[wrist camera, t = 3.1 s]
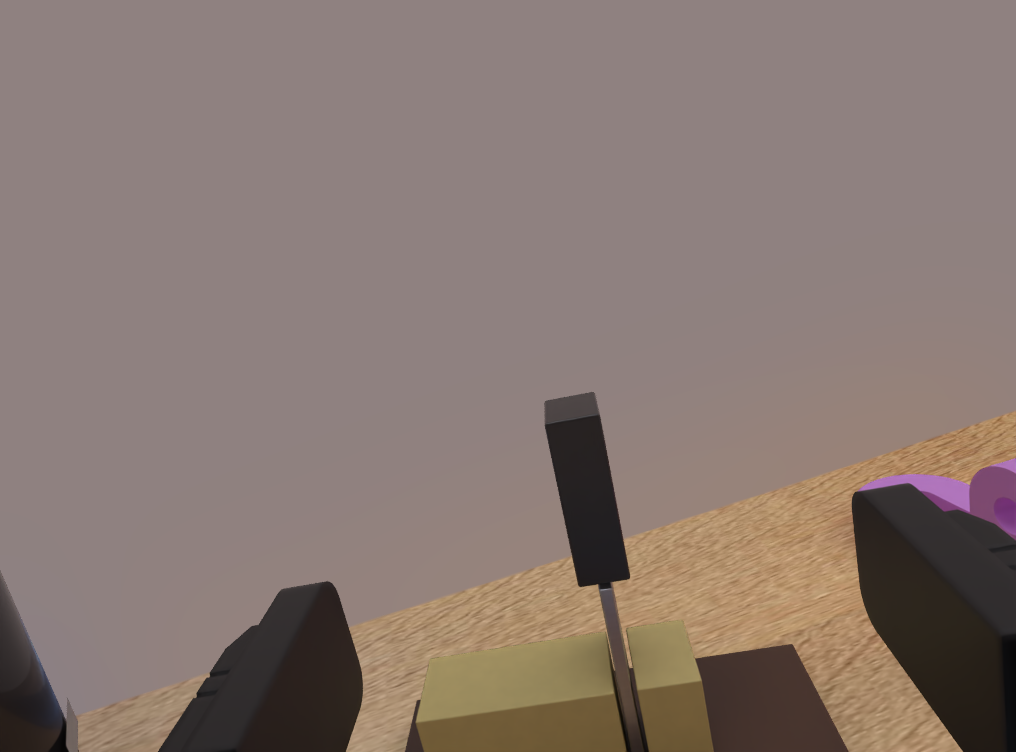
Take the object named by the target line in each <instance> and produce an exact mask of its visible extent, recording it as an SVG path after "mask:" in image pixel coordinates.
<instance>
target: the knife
mask: <svg viewBox="0 0 1016 752" xmlns="http://www.w3.org/2000/svg"><path fill="white" fill-rule="evenodd" d="M544 407H545V429H546V434H547V439H548V444H549V448H550V453H551V458H552V463H553V467H554V472H555V477H556V482H557V487H558V491H559V496H560V501H561V505H562V510H563V515H564V519H565V525H566V529H567V534H568V538H569V544H570V548H571V553H572V558H573V563H574V568H575V572H576V577H577V582H578V585H579V587H584V586H590V585H596V584H598V587H599V593H600V598H601V603H602V608H603V613H604V618H605V623H606V628H607V633H608V638H609V643H610V648H611V653H612V657H613V662H614V667H615V672H616V677H617V682H618V687H619V692H620V697H621V702H622V707H623V712H624V717H625V722H626V727H627V732H628V737H629V742H630V747H631V752H645V750H644V745H643V739H642V733H641V728H640V722H639V716H638V711H637V706H636V701H635V696H634V691H633V685H632V680H631V675H630V670H629V665H628V660H627V655H626V650H625V645H624V639H623V634H622V629H621V624H620V619H619V614H618V609H617V604H616V599H615V594H614V588H613V583H612V582H615V581H621V580H627V579H630V572H629V567H628V562H627V557H626V551H625V546H624V541H623V536H622V530H621V525H620V519H619V514H618V509H617V504H616V498H615V493H614V487H613V482H612V477H611V471H610V466H609V461H608V456H607V450H606V445H605V440H604V435H603V430H602V424H601V419H600V414H599V409H598V405H597V401H596V396H595V393H594V392H590V393H585V394H580V395H575V396H569V397H564V398H558V399H553V400H548V401H545V403H544Z"/></svg>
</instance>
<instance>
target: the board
mask: <svg viewBox="0 0 1016 752" xmlns="http://www.w3.org/2000/svg"><path fill="white" fill-rule="evenodd" d="M695 660H696V663H697V667H698V670H699V673H700V676H701V680H702V685H703V691H704V697H705V703H706V709H707V715H708V721H709V727H710V733H711V739H712V745H713V751H714V752H848V750H847V748H846V746H845V744H844V742H843V740H842V738H841V736H840V734H839V733H838V731H837V729H836V727H835V725H834V723H833V721H832V719H831V717H830V715H829V713H828V711H827V709H826V708H825V706H824V704H823V702H822V700H821V698H820V696H819V694H818V692H817V690H816V688H815V686H814V685H813V683H812V681H811V679H810V677H809V675H808V673H807V671H806V669H805V667H804V665H803V663H802V662H801V660H800V658H799V656H798V654H797V652H796V650H795V648H794V646H793V645H792V644H789V645H782V646H776V647H769V648H762V649H756V650H749V651H742V652H736V653H729V654H722V655H716V656H709V657H702V658H696V659H695ZM629 670H630V675H631V680H632V685H633V691H634V696H635V701H636V706H637V711H638V716H639V722H640V728H641V733H642V739H643V745H644V750H645V752H649V749H648V744H647V739H646V734H645V729H644V724H643V718H642V713H641V708H640V703H639V698H638V693H637V687H636V682H635V676H634V671H633V668H629ZM614 674H615V679H616V684H617V688H618V693H619V698H620V703H621V708H622V713H623V720H624V727H625V734H626V741H627V747H628V752H631V747H630V742H629V737H628V732H627V727H626V722H625V717H624V712H623V707H622V702H621V697H620V692H619V687H618V682H617V677H616V672H615V671H614ZM420 701H421V700H417V703H416V707H415V711H414V716H413V720H412V724H411V729H410V733H409V737H408V742H407V746H406V750H405V752H424V750H423V746H422V743H421V739H420V736H419V733H418V729H417V726H416V719H417V714H418V710H419V705H420Z"/></svg>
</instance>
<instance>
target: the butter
mask: <svg viewBox="0 0 1016 752" xmlns="http://www.w3.org/2000/svg"><path fill="white" fill-rule="evenodd" d="M416 726H417V729H418V733H419V736H420V739H421V743H422V746H423V750H424V752H628V747H627V741H626V734H625V727H624V720H623V713H622V708H621V703H620V698H619V693H618V688H617V684H616V679H615V674H614V669H613V664H612V659H611V654H610V649H609V644H608V639H607V634H606V632H599V633H592V634H586V635H579V636H573V637H567V638H560V639H554V640H547V641H541V642H534V643H528V644H522V645H515V646H509V647H502V648H496V649H489V650H483V651H477V652H470V653H464V654H457V655H451V656H444V657H438V658H431V659H430V661H429V665H428V670H427V674H426V679H425V683H424V687H423V692H422V696H421V701H420V705H419V710H418V714H417V719H416Z"/></svg>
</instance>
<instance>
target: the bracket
mask: <svg viewBox="0 0 1016 752" xmlns="http://www.w3.org/2000/svg"><path fill="white" fill-rule="evenodd" d="M904 483H910V484H912V485H913V486H915V487H916V488H917V489H918V490H919V491H921V492H922V493H923V494H924V495H925V496H926V497H928V498H929V499H930V500H931V501H932V502H933V503H935V504H936V505H937V506H938V507H939V508H940V509H942V510H943V511H944V512H945V511H951V510H957V509H958V510H961V511H963V512H966V513H969V514H971V515H974V516H976V517H979V518H981V519H984V520H986V521H989V522H992V523H994V524H996V525H997V526H998V527H999V528H1001V529H1002V530H1003V531H1005V532H1006V533H1007V534H1008V535H1010V536H1011V537H1012V538H1013V539H1015V540H1016V458H1015V459H1012V460H1008V461H1005V462H1002V463H999V464H995V465H992V466H989V467H985V468H983V469H981V470H979V471H978V472H977V473H976V474H975V475H974V477H973V479H972V481H971V484H970V485H968V484H966V483H963V482H961V481H958V480H954V479H951V478H946V477H941V476H934V475H920V474H911V475H897V476H891V477H886V478H882V479H878V480H875V481H873V482H870V483H868V484H866V485H865V486H863V487H862V488H860V489H859V490H858V491H863V490H869V489H875V488H880V487H886V486H892V485H898V484H904Z"/></svg>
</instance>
